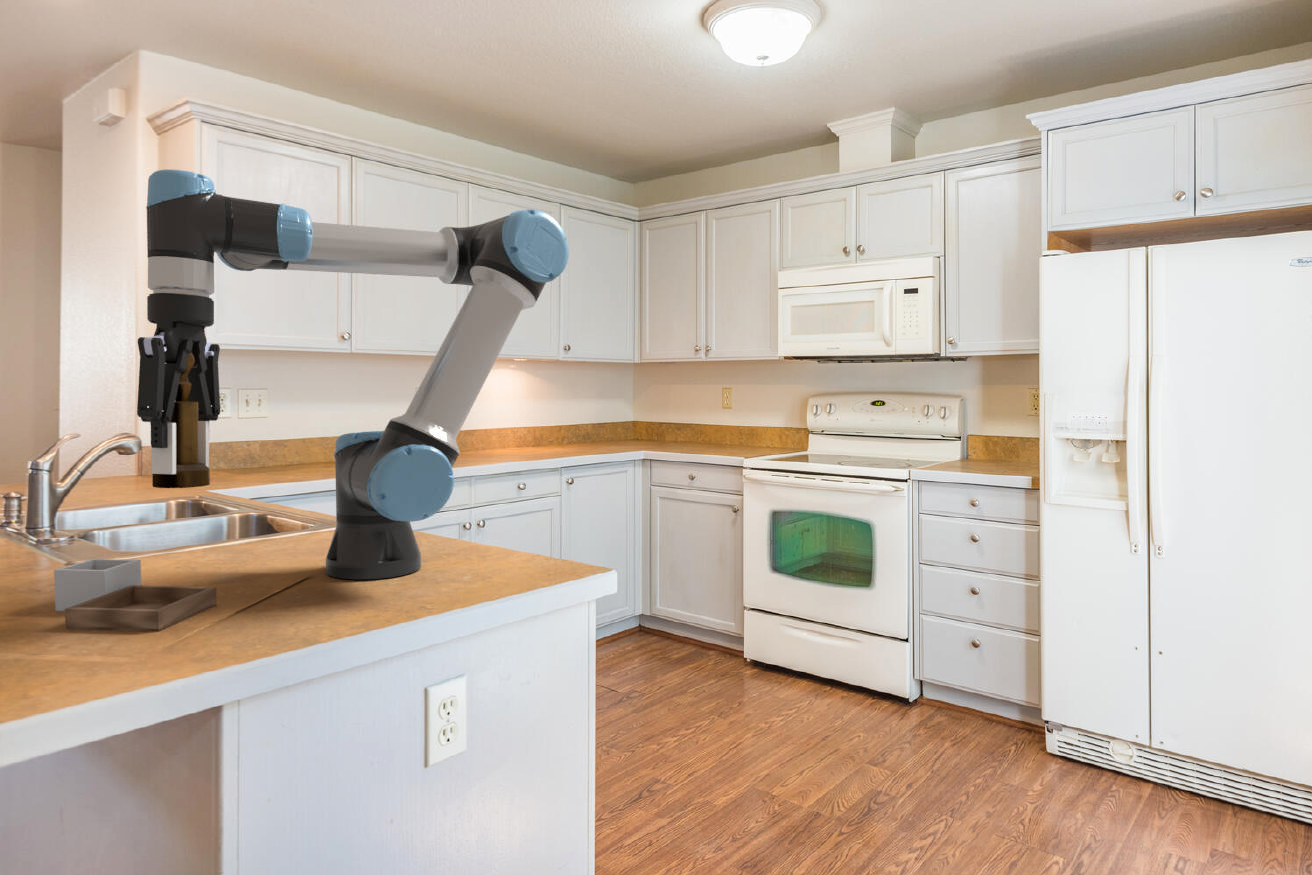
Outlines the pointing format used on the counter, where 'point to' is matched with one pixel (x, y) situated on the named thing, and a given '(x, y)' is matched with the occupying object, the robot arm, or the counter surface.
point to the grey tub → (93, 580)
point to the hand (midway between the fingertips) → (181, 470)
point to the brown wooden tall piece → (185, 441)
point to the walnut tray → (141, 608)
